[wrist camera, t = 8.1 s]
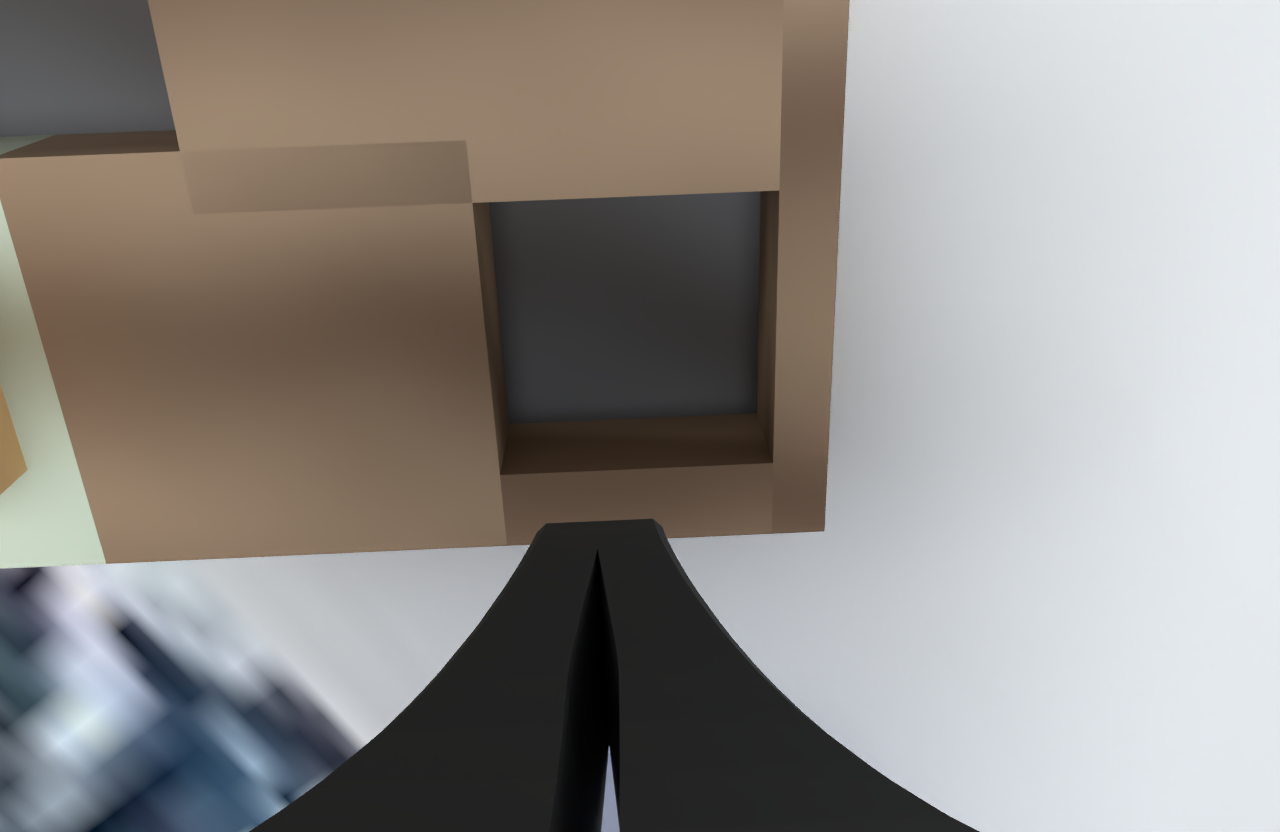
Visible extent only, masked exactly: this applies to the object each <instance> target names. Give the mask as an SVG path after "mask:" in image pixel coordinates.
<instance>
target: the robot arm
mask: <svg viewBox="0 0 1280 832" xmlns="http://www.w3.org/2000/svg"><path fill="white" fill-rule="evenodd" d="M249 832H979V831H977V830H975V829H973V828H971V827H969V826H967V825H965V824H963V823H961V822H960V821H958V820H956V819H954V818H952V817H950V816H948V815H946V814H945V813H943V812H941V811H939V810H938V809H936V808H935V807H933V806H931V805H930V804H928V803H926V802H925V801H923V800H922V799H920V798H918V797H917V796H915V795H914V794H912V793H910V792H909V791H907V790H906V789H904V788H902V787H901V786H899V785H898V784H896V783H894V782H893V781H891V780H890V779H888V778H887V777H885V776H884V775H882V774H881V773H879V772H878V771H877V770H875V769H874V768H872V767H871V766H870V765H868V764H867V763H866V762H864V761H863V760H862V759H860V758H859V757H858V756H856V755H855V754H854V753H852V752H851V751H850V750H848V749H847V748H846V747H844V746H843V745H842V744H840V743H839V742H838V741H836V740H835V739H834V738H832V737H831V736H830V735H828V734H827V733H826V732H825V731H824V730H822V729H821V728H820V727H819V726H818V725H817V724H815V723H814V722H813V721H812V720H811V719H810V718H809V717H807V716H806V715H805V714H804V713H803V712H802V711H801V710H800V709H799V708H798V707H796V706H795V705H794V704H793V703H792V702H791V701H790V700H789V699H788V698H787V697H786V696H785V695H784V694H783V693H782V692H781V691H780V690H779V689H778V688H777V687H776V686H775V685H774V684H773V683H772V682H771V681H770V680H769V679H768V678H767V677H766V676H765V675H764V674H763V673H762V672H761V671H760V669H759V668H758V667H757V666H756V665H755V664H754V663H753V662H752V661H751V659H750V658H749V657H748V656H747V655H746V654H745V652H744V651H743V650H742V649H741V648H740V647H739V645H738V644H737V643H736V642H735V641H734V640H733V638H732V637H731V636H730V635H729V633H728V632H727V631H726V630H725V628H724V627H723V626H722V624H721V623H720V622H719V621H718V619H717V618H716V616H715V615H714V614H713V612H712V611H711V610H710V608H709V607H708V605H707V604H706V603H705V601H704V600H703V598H702V597H701V596H700V594H699V593H698V591H697V590H696V588H695V587H694V585H693V584H692V582H691V581H690V579H689V578H688V576H687V574H686V573H685V571H684V569H683V568H682V566H681V564H680V563H679V561H678V559H677V558H676V556H675V554H674V552H673V550H672V548H671V546H670V544H669V542H668V540H667V537H666V535H665V533H664V529H663V527H662V526H661V525H660V524H659V523H657V522H656V521H655V520H654V519H632V520H610V521H588V522H565V523H546V524H545V525H544V526H543V527H542V528H541V529H540V530H539V531H538V532H537V533H536V535H535V537H534V539H533V541H532V543H531V545H530V547H529V548H528V550H527V552H526V554H525V555H524V557H523V559H522V561H521V562H520V564H519V565H518V567H517V569H516V570H515V572H514V573H513V575H512V577H511V578H510V580H509V581H508V583H507V584H506V586H505V587H504V589H503V590H502V592H501V593H500V595H499V596H498V597H497V599H496V600H495V602H494V603H493V604H492V606H491V607H490V609H489V610H488V612H487V613H486V614H485V616H484V617H483V619H482V620H481V621H480V623H479V624H478V625H477V627H476V628H475V629H474V631H473V632H472V633H471V634H470V636H469V637H468V638H467V639H466V641H465V642H464V643H463V644H462V645H461V647H460V648H459V649H458V650H457V652H456V653H455V654H454V655H453V656H452V658H451V659H450V660H449V661H448V662H447V664H446V665H445V666H444V667H443V669H442V670H441V671H440V672H439V673H438V674H437V676H436V677H435V678H434V679H433V680H432V681H431V682H430V683H429V684H428V685H427V686H426V688H425V689H424V690H423V691H422V692H421V693H420V694H419V695H418V696H417V697H416V698H415V699H414V700H413V701H412V702H411V703H410V704H409V705H408V706H407V707H406V708H405V709H404V710H403V711H402V712H401V713H400V714H399V715H398V716H397V717H396V718H395V719H394V720H393V721H392V722H391V723H390V724H389V725H388V726H387V727H386V728H385V729H384V730H383V731H382V732H381V733H379V734H378V735H377V736H376V737H375V738H374V739H373V740H371V741H370V742H369V743H368V744H367V745H365V746H364V747H363V748H362V749H360V750H359V751H358V752H357V753H356V754H354V755H353V756H352V757H351V758H349V759H348V760H347V761H346V762H345V763H343V764H342V765H341V766H340V767H339V768H337V769H336V770H335V771H334V772H332V773H331V774H330V775H329V776H328V777H326V778H325V779H324V780H323V781H321V782H320V783H319V784H317V785H316V786H315V787H313V788H312V789H311V790H309V791H308V792H306V793H305V794H304V795H302V796H301V797H299V798H298V799H297V800H295V801H294V802H292V803H291V804H290V805H288V806H287V807H285V808H284V809H283V810H281V811H280V812H278V813H277V814H275V815H274V816H272V817H271V818H269V819H268V820H266V821H265V822H263V823H262V824H260V825H259V826H257V827H255V828H254V829H252V830H251V831H249Z"/></svg>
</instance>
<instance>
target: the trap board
mask: <svg viewBox="0 0 1280 832" xmlns="http://www.w3.org/2000/svg"><path fill="white" fill-rule="evenodd" d="M848 19H849V0H0V384H1V387H2V390H3V393H4V396H5V400H6V403H7V406H8V409H9V412H10V416H11V419H12V422H13V425H14V428H15V432H16V435H17V438H18V441H19V444H20V447H21V451H22V454H23V457H24V460H25V463H26V467H27V471H26V472H25V473H24V474H22V475H21V476H20V477H19V478H18V479H17V480H16V481H15V482H14V483H13V484H12V485H11V486H10V487H8V488H7V489H6V490H5V491H4V492H3V493H2V494H1V495H0V568H22V567H44V566H66V565H89V564H111V563H133V562H155V561H177V560H199V559H221V558H243V557H265V556H287V555H310V554H332V553H354V552H376V551H398V550H420V549H442V548H464V547H486V546H509V545H531V543H532V541H533V539H534V537H535V535H536V533H537V532H538V531H539V530H540V529H541V528H542V527H543V526H544V525H545V524H546V523H565V522H588V521H610V520H632V519H654V520H655V521H656V522H657V523H659V524H660V525H661V526H662V527H663V529H664V533H665V535H666V537H667V538H685V537H707V536H730V535H752V534H774V533H796V532H818V531H824V528H825V507H826V485H827V464H828V443H829V422H830V401H831V379H832V358H833V337H834V316H835V295H836V273H837V252H838V231H839V210H840V189H841V167H842V146H843V125H844V104H845V83H846V62H847V40H848Z"/></svg>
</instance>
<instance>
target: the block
mask: <svg viewBox="0 0 1280 832" xmlns="http://www.w3.org/2000/svg"><path fill="white" fill-rule="evenodd" d="M26 471H27V467H26V463H25V460H24V457H23V454H22V451H21V447H20V444H19V441H18V438H17V435H16V432H15V428H14V425H13V422H12V419H11V416H10V412H9V409H8V406H7V403H6V400H5V396H4V393H3V390H2V387H1V384H0V495H1V494H2V493H3V492H4V491H5V490H6V489H7V488H8V487H10V486H11V485H12V484H13V483H14V482H15V481H16V480H17V479H18V478H19V477H20V476H21V475H22V474H24V473H25V472H26Z"/></svg>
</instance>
